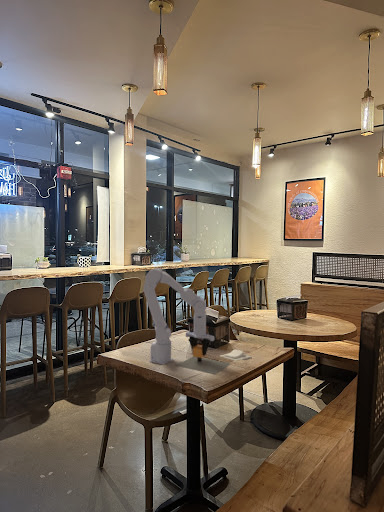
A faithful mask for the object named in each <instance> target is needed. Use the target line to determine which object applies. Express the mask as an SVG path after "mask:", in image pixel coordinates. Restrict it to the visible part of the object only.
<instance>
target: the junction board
mask: <svg viewBox="0 0 384 512" xmlns="http://www.w3.org/2000/svg"><path fill="white" fill-rule="evenodd" d="M230 365H231V363H230V362H224V361H219V360H214V359H211V358H205V357H202V361H197V357H194V356H193V355H192V357H190V358H188V359H185V360H183V361H181V362H180V363H178V364H175V366H176V367H180V368H184V369H189V370H193V371H198V372H203V373H206V374H212V375H216V374H218V373H219V372H222V371H223V370H224V369H226V368H227V367H228V366H230Z"/></svg>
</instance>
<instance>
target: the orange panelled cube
mask: <svg viewBox="0 0 384 512" xmlns="http://www.w3.org/2000/svg"><path fill="white" fill-rule="evenodd" d="M193 356H194V357H199V358H205V357H206V356H207V354H206V355H203V353H202V344H198V343H197V345H196V346H193V350H192V357H193Z"/></svg>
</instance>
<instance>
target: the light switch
mask: <svg viewBox="0 0 384 512" xmlns="http://www.w3.org/2000/svg"><path fill="white" fill-rule="evenodd" d="M219 357H221V358H225V359H228V360H232V361H235V362H239V361H240V360H242V361H247V360H249V359H252V356H250V355H247V354H245V353H244V350H239V349H233V350H232V351H230V352H229V353H224V354H221V355H219Z"/></svg>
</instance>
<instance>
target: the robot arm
mask: <svg viewBox="0 0 384 512" xmlns="http://www.w3.org/2000/svg"><path fill="white" fill-rule="evenodd" d="M159 283H161V284H167V285H168V286H170V287H171V288H172V289H173V290H174V291H176V292H178V293H179V294H180V295H179V296H180V299H181V300H183V301H184V302H185V303H186V304H187V305H189V306H190V307H192V308H193V310H194V313H193V331H192V332H191V331H188V332H187V331H186V332H185V338H188V337H189V338H188V340H187V341H188V343H189V344H190V348H191V349H192V351H193V346H196V345H198V341H199V339H200V340H201V341H200V343H201V345H202V353H203V355H206V356H207V352H208V348H209V346H210V344H211V342H214V341H215V335H211V334H207V314H206V313H207V312H206V309H207V303H206V301H205V300H204V298H201V296H200V295H197V294H196V293H195V292H193V291H194V290H193V289H192V288H188V287H187V288H185V287H183V285H181V284H180V283H179V282H178V281H177V280H175V279H174V278H173V277H172V276H171V275H170V274H169V273H167V272H166V271H164V270H163V269H161V268H159V267H156V268H152V269H150V270H149V271H148V272H147V273H146V275H145V279H144V282H143V287H142V290H143V293H144V296H145V298H146V299H145V300H146V302H147V306H148V308H149V311H150V312H149V313H150V315H151V318H152V320H153V323H154V330H155V341H153V342H152V343H151V345H150V360H149V362H151V363H156V364H160V365H165V364H167V363H169V362H171V361H174V358H172V340H171V339H170V338H171V336H172V330H171V328H170V327H169V326H168V324H167V322H166V321H165V318H164V316H163V311H162V309H161V305H160V303H159V300H158V296H157V294H156V290H155V289H156V287H157V285H158V284H159Z"/></svg>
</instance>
